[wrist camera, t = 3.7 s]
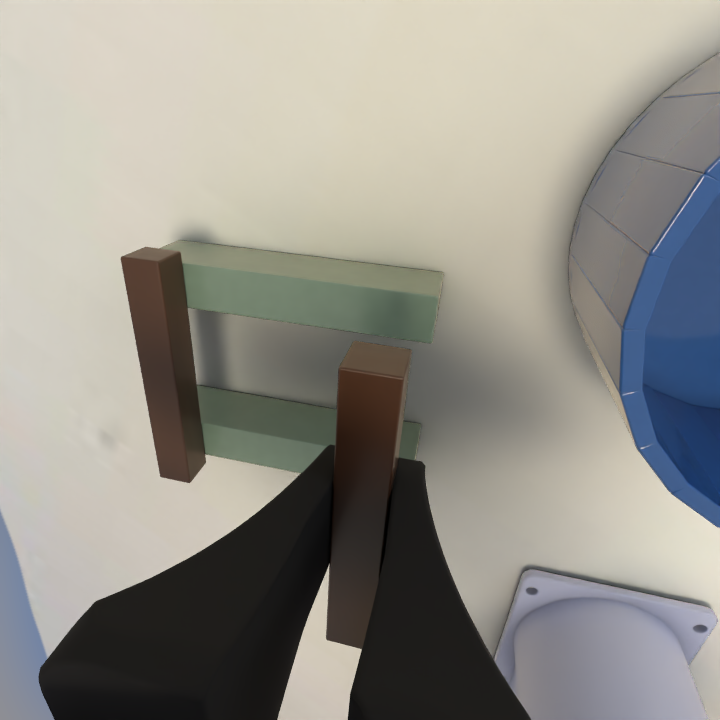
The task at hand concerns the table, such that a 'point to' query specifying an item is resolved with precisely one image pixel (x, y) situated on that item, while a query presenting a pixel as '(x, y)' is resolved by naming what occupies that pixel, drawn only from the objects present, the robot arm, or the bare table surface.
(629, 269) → the blue round bowl
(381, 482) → the chopstick
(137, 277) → the chopstick
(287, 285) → the miniature wooden rack
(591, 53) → the table surface
